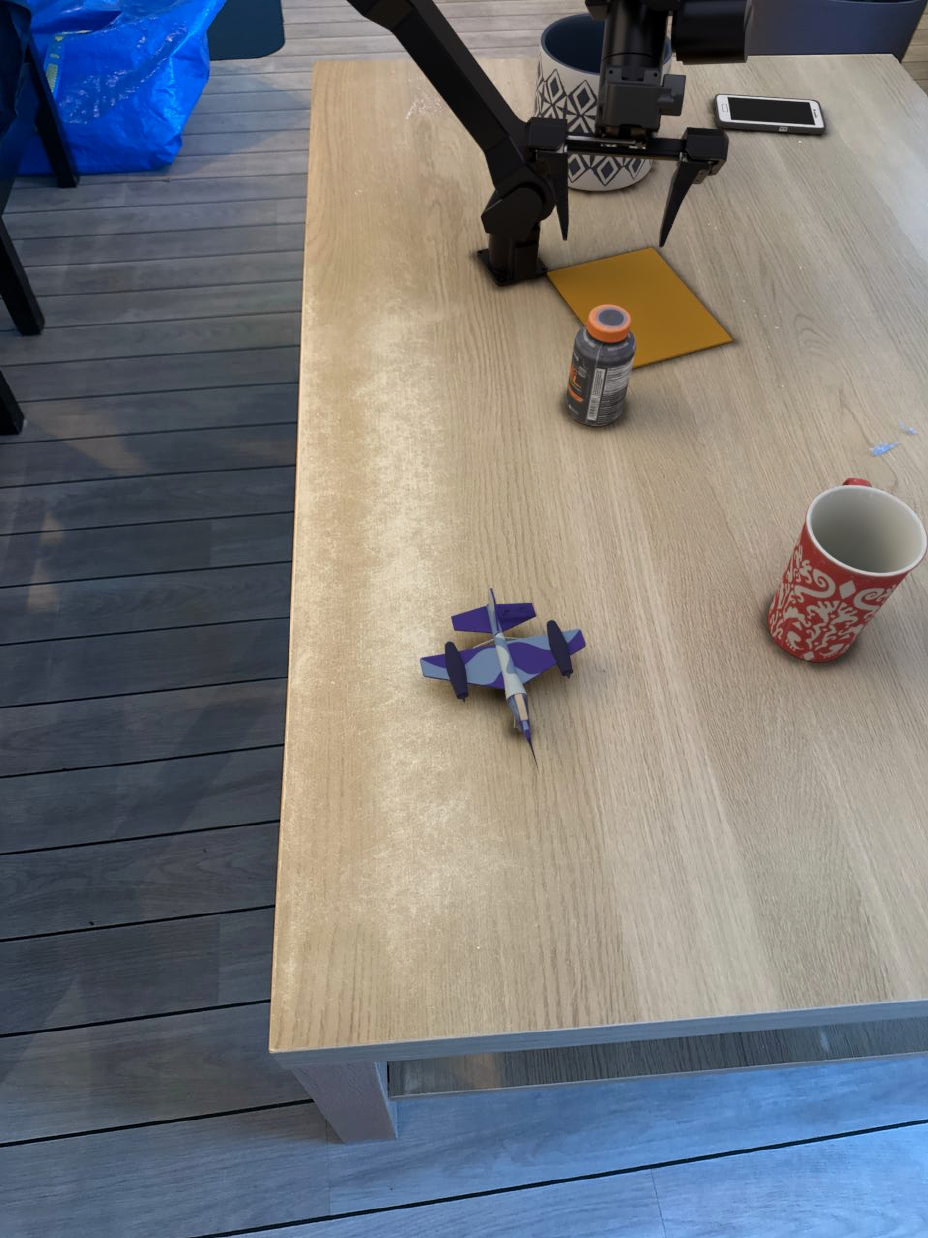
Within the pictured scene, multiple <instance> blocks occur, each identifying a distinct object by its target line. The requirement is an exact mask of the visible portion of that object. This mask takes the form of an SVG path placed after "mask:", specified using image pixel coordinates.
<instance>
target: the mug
mask: <svg viewBox="0 0 928 1238" xmlns="http://www.w3.org/2000/svg"><path fill="white" fill-rule="evenodd" d="M804 517H805V518H804V523H803V526H802V528H801V531H800V533H799V536H798V538H797V541H796V543H795V544H794V545H795V546H794V547H793V550H792V553H791V556H790V558H789V560H788V563H787V565H786V568H785V570H784V572H783V575H782V578H781V580H780V582H779V585H778V588H777V590H776V592H775V595H774V596H773V599H772V602H771V604H770V607H769V609H768V613H767V627H768V630H769V633H770V635H771V637H772V639H773V640H774V641H775V643H776V644H777V645H778V646H779V647H780V648H781V649H783V650H784V651H785V652H787V653H788V654H790V655H792V656H793V657H796V658H798V659H801V660H803V661H806V662H812V663H813V662H814V663H824V662H830V661H832V660H835V659H837V658H839V657H841V656H842V655H843V654H844V653H846V651H847V650H849V648H850V647H851V646H852V644H853V643H854V641H856V639H857V638H858V636H859V635H860V633H862V631H863V630H864V628H865V627H866V626H867V625H868V624H869V623H870V621H872V619H873V618H874V616H876V614H877V612H878V611H879V610H880V609H881V607H882V606H883V605H884V604H885V603H886V601H887V600H888V599H889V598H890V597H891V596H892V594H893V593H894V592H895V590H896V589H897V588H898V587H899V586H900V584H901V583H902V582H903V581H904V579H905V578H906V577H907V575H908V574H909V573H910V572H911V571H913V570H914V569H916V568H917V567H918V566H919V565H920V564H921V563H922V562H923V560H924V559H925V557H926V555H927V552H928V533H927V529H926V527H925V525H924V523H923V521H922V519H921V518H920V516H919V515H918V514H917V512H916V511H915V510H914V509H913V508H911V506H910V505H908V504H907V503H906V502H905V501H903V500H902V499H900V498H899V497H897V496H896V495H893V494H891V493H889V492H887V491H884V490H883V489H879V488H876V487H872V484H871V482H870V481H869V480H867V479H864V478H859V477H848V478H846V479H845V481H843V482H842V484H841V485H838V486H833V487H830V488H828V489H825V490H823V491H822V492H820V493H819V494H818V495H817V496H816V497H814V499H812V500H811V502H810V504H809V505H808V507H807V510H806V512H805V516H804Z"/></svg>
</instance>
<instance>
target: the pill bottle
mask: <svg viewBox="0 0 928 1238" xmlns="http://www.w3.org/2000/svg"><path fill="white" fill-rule="evenodd" d="M630 325H631V317H630V315H629V313H628V312H627V311H626V310H624V309H623V308H621V307H619V306H615V305H600V306H597V307H595V308H594V309H592V311H591V312H590V313H589V317H588V322H587V324H586V325H584V324H583V326H581V327H580V328H579V329H578V331H577V332H576V335H575V337H574V340H573V341H574V343H573V348H572V354H571V361H570V369H569V375H568V382H567V388H566V395H565V401H564V402H565V403H564V405H565V409H566V411H567V413H568V414H569V416H571V417H572V418H573V420H576V421H577V422H578V423H581V424H584V425H587V426H592V427H600V426H601V427H603V426H606V425H609V424H612V423H614V422H616V421H617V420H618V419H619V418H620V416H621V415H622V412H623V410H624V405H625V401H626V397H627V392H628V387H629V383H630V378H631V374H632V370H633V369H632V365H633V360H634V355H635V350H636V340H635V337H634V335H633V333H632V332H631V331H630Z"/></svg>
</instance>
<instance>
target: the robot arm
mask: <svg viewBox="0 0 928 1238" xmlns="http://www.w3.org/2000/svg"><path fill="white" fill-rule="evenodd" d="M345 1H346V2H347V3H348V4H349V5H350V6H351V7H352V8H353V9H354V10H355V11H356V12H357V13H358V14H360V16H361V17H363V18H364V19H367V20H369V21H371V22H372V23H374V24H376V25H378V26H379V27H382V28H384V29H385V30H387V31H389V32H390V33H391V34H392V35H393V36H394V37H395V38H396V39H397V41H398V42H399V43H400V45H401V47H403V49H404V50H405V51H406V52H407V55H409V57H410V58H411V59H412V60H413V62H414V63H415V65H416V66H417V67H418V68H419V70H420V71H421V72H422V74H423V75H424V76H425V77H426V79H427V80H428V82H429V83H430V84H431V86H432V87H433V88H434V89H435V91H436V92H437V93H438V94H439V97H440V98H441V99H442V100H443V102H445V104H446V106H447V107H448V108H449V109H450V111H451V112H452V113H453V114H454V116H455V117H456V118H457V120H458V121H459V123H460V124H461V125H462V126H463V128H464V129H465V130H466V131H467V133H468V134H469V135H470V137H471V139H473V140H474V142H475V143H476V144H477V146H478V147H479V148H480V150H481V151H482V153H483V156H484V159H485V161H486V165H487V169H488V172H489V176H490V179H491V183H492V186H493V189H494V190H493V192H492V194H491V195H490V198H489V200H488V201H487V204H486V205H485V207H484V209H483V211H482V213H481V215H480V220H481V223H482V226H483V229H484V230H483V231H484V232H485V234H488V248H483V249H479V250H477V251H476V257H477V259H478V260H479V262H480V263H481V264H482V266H483V267H484V269H485V270H486V272H487V273H488V275H489V276H490V277H491V279H492V280H493V282H494V283H495V284H496V285H497V286H505V285H508V284H509V285H510V284H513V283H517V282H518V283H519V282H523V281H526V280H530V279H535V278H538V277H542V276H547V275H546V274H547V273H548V272H549V269H548V267H547V266H546V264H545V263H544V261H542V259H541V257H540V256H539V252H540V251H539V250H540V239H541V238H540V237H541V225H542V222H543V221H546V220H547V219H548V218H549V217H550V216H551V215H552V213H553V211H554V210H555V209H556V213H557V219H558V223H559V229H560V233H561V238H562V241H563V242H567V241H568V238H569V237H568V236H569V225H570V211H569V209H570V208H569V187H568V174H569V162H568V154H577V155H592V156H606V157H621V158H636V159H650V160H653V161H667V162H675V166H676V168H675V171H674V172H673V174H672V176H671V178H670V182H669V187H668V192H667V196H666V197H667V198H666V201H665V206H664V210H663V214H662V219H661V223H660V224H661V225H660V227H659V228H660V229H659V234H658V248H659V249H662V248H664V246H665V244H666V242H667V239H668V237H669V235H670V233H671V230H672V228H673V225H674V223H675V219H676V218H677V215H678V213H679V211H680V209H681V206H682V205H683V201H684V199H685V198H686V196H687V194H688V193H689V191H690V189H691V187H692V186H693V185H701V184H702V183H704V181H705V179H706V178H707V177H712V176H717V175H718V173H719V172H720V170H721V169H722V168H723V167H724V166H725V164H726V163H727V161H728V154H729V146H730V137H729V135H728V133H727V132H726V130H725V128H710V127H709V128H708V127H695V126H687V127H686V128H685V130H684V132H683V134H682V136H681V138H673V137H659V136H657V137H655V133H656V132H658V133H659V131H660V129H661V122H662V116H664V117H665V116H666V117H680V116H682V112H683V107H684V101H685V100H684V99H685V93H686V84H687V83H686V81H687V75H686V74H677V73H676V74H675V73H670V74H665V75H664V76H663V81H662V85H661V80H662V71H663V62H664V53H665V44H666V35H667V33H668V25H669V17H671V25H670V40H671V50H672V53H673V54H675V61H676V62H681V63H682V65H683V66H704V65H729V64H733V65H734V64H747V62H748V59H749V53H750V49H751V42H752V33H753V26H754V25H753V24H754V13H755V11H754V10H755V5H754V4H753V0H584V5H585V7H586V9H587V11H588V13H590V15H591V17H592V19H593V20H595V21H598V20H605V29H604V39H603V49H602V59H601V69H600V79H599V89H598V99H597V109H596V119H595V129H594V133H584V132H569V131H567V123H568V119H560V118H545V117H533V116H531V117H530V118H529V119H528V120H527V121H525V120H522V119H521V118H520V117H519V116H518V115H517V114H516V113H515V112H514V111H513V109H512V108H511V106H510V105H509V104H508V102H507V101H506V99H505V98H504V97H503V95H502V93H501V92H500V91H499V89H498V88H497V87H496V86H495V84H494V83H493V82H492V80H491V78H490V77H489V76H488V74H487V73H486V72H485V70H484V69H483V68H482V66H481V65H480V63H479V62H478V61H477V59H476V58H475V57H474V55H473V54H472V53H471V51H470V50H469V48H468V47H467V46H466V44H465V42H463V40H462V39H461V37H460V36H459V34H458V33H457V32H456V30H455V29H454V27H453V26H452V25H451V24H450V22H449V21H448V20H447V18H446V17H445V15H444V14H443V13H442V11H441V10H440V8H439V7H438V6H437V5H436V3H435V2H434V0H345ZM667 36H668V35H667ZM601 144H603V145H605V144H606V145H617V147H614V146H613V147H609V146H601ZM630 146H633V147H634V146H636V147H645V149H643V148H642V149H639V148H630Z"/></svg>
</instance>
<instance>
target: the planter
mask: <svg viewBox="0 0 928 1238" xmlns="http://www.w3.org/2000/svg"><path fill="white" fill-rule="evenodd" d="M604 29H605V20H598V21H595V20H593V19H592V17H591V15H590V13H589V12H586V13H585V12H584V13H577V14H572V15H568V16H566V17H562V18H559V19H557V20H555V21H553V22H551V24H549V25H548V26H546V27H545V28H544V30H543V31H542V33H541V35H540V39H539V46H538V56H537V67H536V68H537V69H536V70H537V71H536V78H535V81H536V82H535V89H534V90H535V93H534V104H533V113H532V114H533V115H532V117H545V118H560V119H568V123H567V131H569V132H584V133H594V129H595V119H596V109H597V99H598V89H599V79H600V69H601V59H602V49H603V39H604ZM673 57H674V53H672V50H671V37H669V36H668V35H666V44H665V53H664V62H663V71H662V80H661V85H662V81H663V76H664V75H665V74H671V70H672V69H671V68H672V64H673V63H672V62H673ZM658 135H659V131H658V132H656V133H655V137H659V136H658ZM601 146H609V147H613V146H614V147H617V145H606V144H605V145H603V144H601ZM630 148H639V149H642V148H643V149H645V147H636V146H634V147H633V146H630ZM568 162H569V174H568V188H571V189H575V190H581V191H590V192H607V191H608V192H609V191H613V190H614V191H615V190H619V189H622V188H626V187H629V186H631V185H633V184H635V183H637V182H639V181H640V180H642V179H643V178H644V177H645V176H646V175H647V174H648V173H649V172H650V170H651V168H652V166H653V162H654V160H650V159H636V158H621V157H606V156H592V155H577V154H568Z"/></svg>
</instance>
